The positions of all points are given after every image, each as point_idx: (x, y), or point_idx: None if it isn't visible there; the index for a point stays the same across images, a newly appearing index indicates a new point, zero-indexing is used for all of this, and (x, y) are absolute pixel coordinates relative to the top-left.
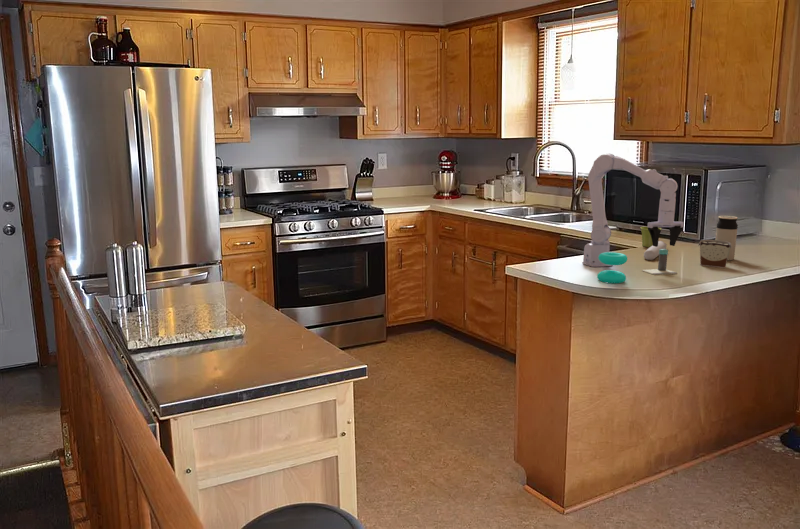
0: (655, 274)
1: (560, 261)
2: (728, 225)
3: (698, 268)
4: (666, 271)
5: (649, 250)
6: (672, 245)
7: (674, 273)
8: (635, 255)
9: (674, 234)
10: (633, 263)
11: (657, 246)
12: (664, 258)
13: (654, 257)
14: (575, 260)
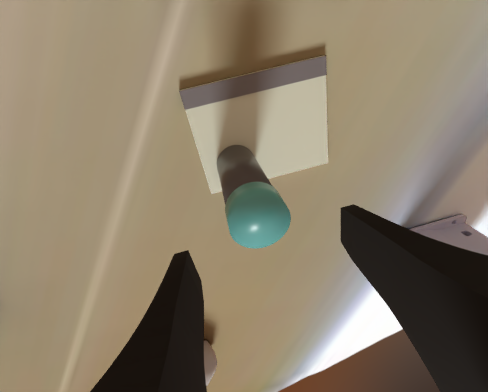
0: (318, 56)
1: None
2: None
3: (17, 235)
4: (227, 128)
5: None
6: (191, 259)
7: (197, 86)
8: (216, 381)
9: (180, 359)
10: (281, 287)
11: (341, 208)
12: (249, 171)
13: None
14: None
